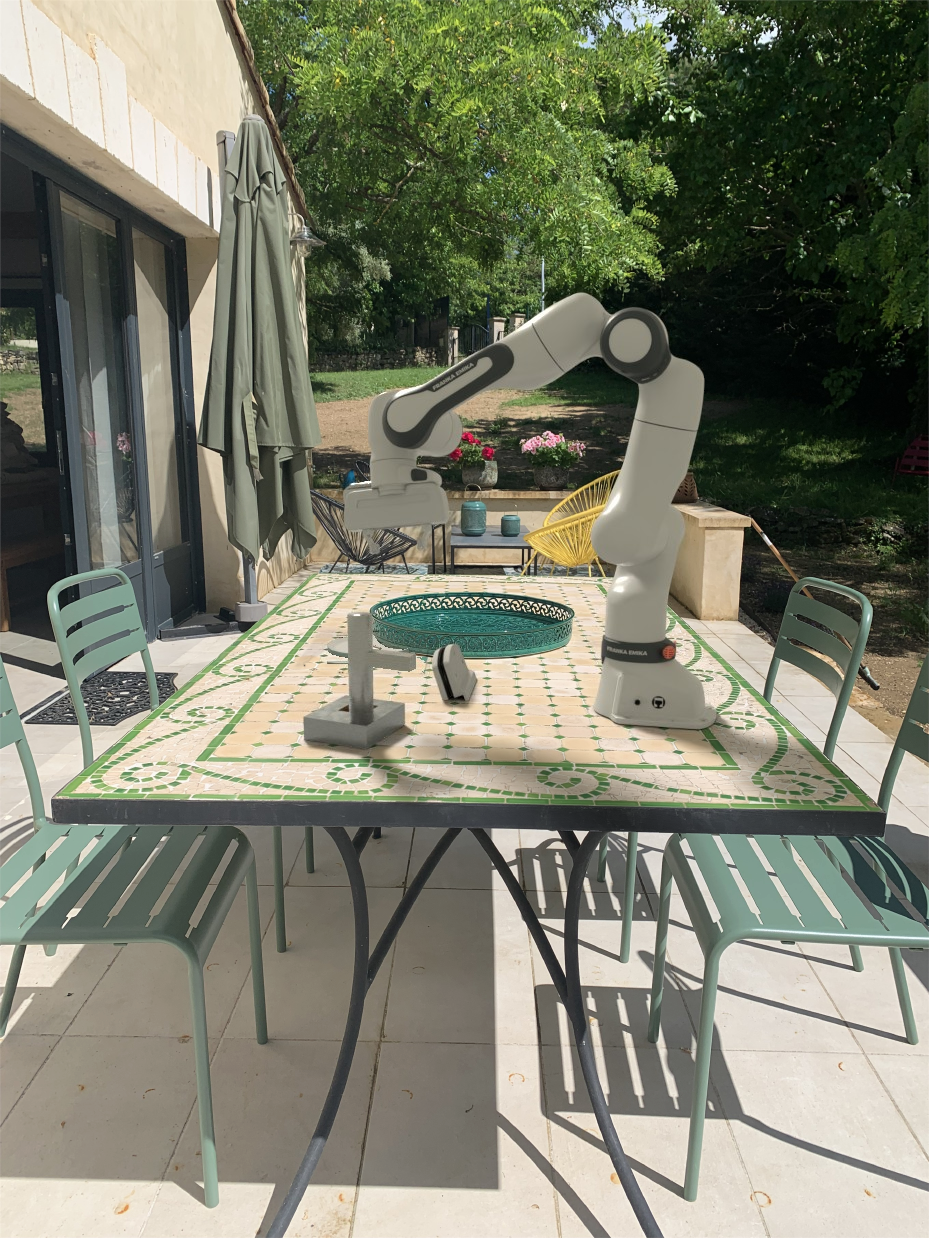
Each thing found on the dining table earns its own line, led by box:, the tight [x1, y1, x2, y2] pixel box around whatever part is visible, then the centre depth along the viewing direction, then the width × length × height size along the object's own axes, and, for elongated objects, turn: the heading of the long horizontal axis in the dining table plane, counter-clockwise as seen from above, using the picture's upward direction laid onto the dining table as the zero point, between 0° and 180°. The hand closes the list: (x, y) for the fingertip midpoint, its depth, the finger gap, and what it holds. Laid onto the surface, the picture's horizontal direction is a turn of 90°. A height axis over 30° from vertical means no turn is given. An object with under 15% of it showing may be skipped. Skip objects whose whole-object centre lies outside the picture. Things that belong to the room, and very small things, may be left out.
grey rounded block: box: [431, 643, 478, 702], centre depth 182 cm, size 17×5×10 cm, turn 173°
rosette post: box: [302, 611, 416, 750], centre depth 152 cm, size 20×14×22 cm
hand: (398, 551), depth 170 cm, fingers open, 8 cm apart
